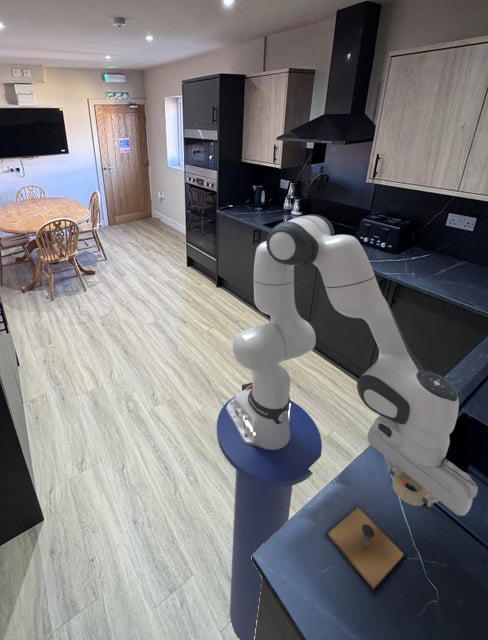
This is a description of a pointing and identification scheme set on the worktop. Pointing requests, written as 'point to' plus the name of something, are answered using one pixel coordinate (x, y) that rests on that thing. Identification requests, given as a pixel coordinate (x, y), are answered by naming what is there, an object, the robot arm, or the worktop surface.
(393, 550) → the peg stand
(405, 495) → the tape roll
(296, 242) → the robot arm
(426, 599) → the worktop surface
